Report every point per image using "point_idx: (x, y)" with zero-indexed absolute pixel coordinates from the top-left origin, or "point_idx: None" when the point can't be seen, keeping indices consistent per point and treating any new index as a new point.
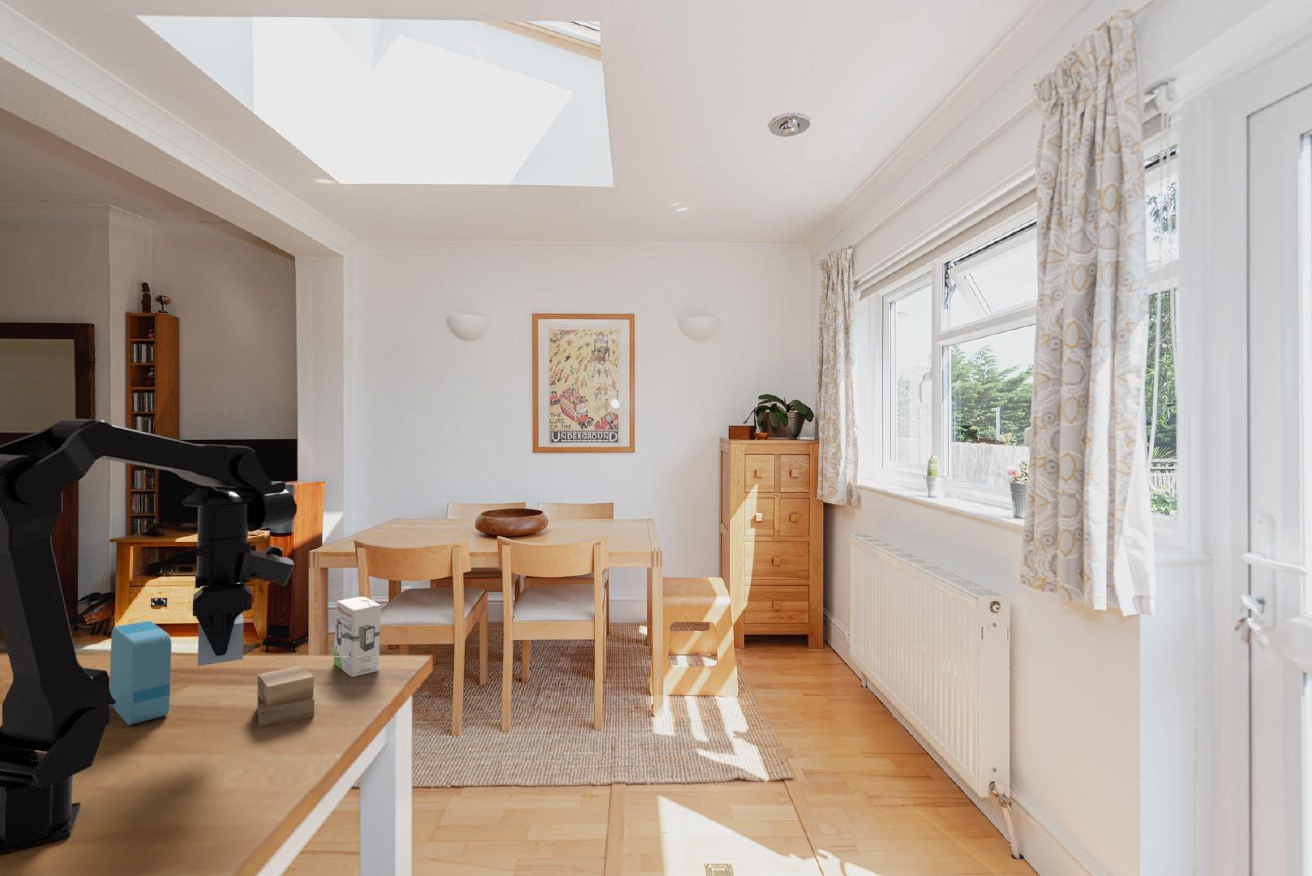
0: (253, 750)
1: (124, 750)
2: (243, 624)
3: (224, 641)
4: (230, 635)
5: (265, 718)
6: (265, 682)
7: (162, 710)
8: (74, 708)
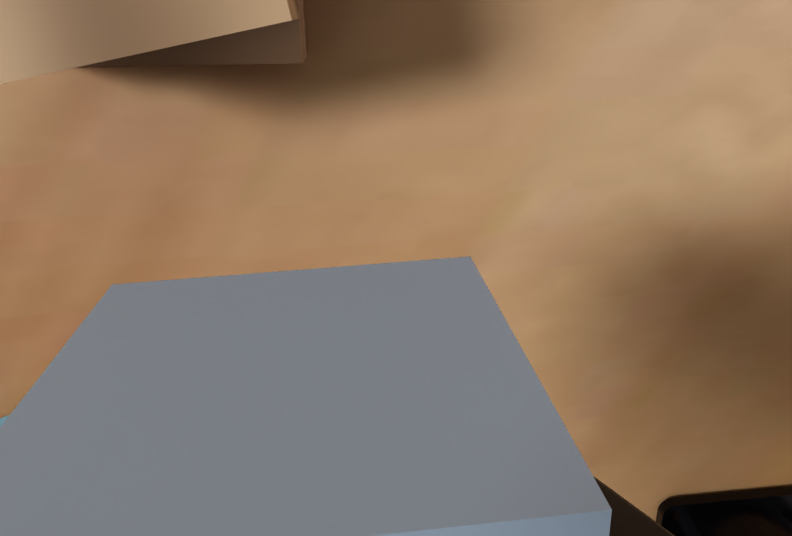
0: (555, 74)
1: None
2: (593, 489)
3: None
4: (663, 530)
5: (303, 25)
6: (192, 34)
7: None
8: None
